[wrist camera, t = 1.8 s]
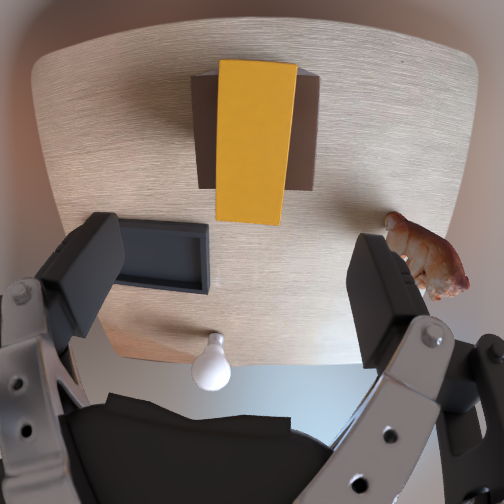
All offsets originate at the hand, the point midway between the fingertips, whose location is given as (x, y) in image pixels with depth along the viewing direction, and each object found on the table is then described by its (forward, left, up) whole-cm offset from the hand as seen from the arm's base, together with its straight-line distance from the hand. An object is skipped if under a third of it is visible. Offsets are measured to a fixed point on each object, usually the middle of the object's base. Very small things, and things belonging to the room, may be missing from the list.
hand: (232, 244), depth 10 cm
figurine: (+22, +7, -26) cm, 35 cm away
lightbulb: (+26, -28, -26) cm, 46 cm away
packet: (0, 0, -14) cm, 14 cm away
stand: (0, 0, -26) cm, 26 cm away
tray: (+7, -24, -26) cm, 36 cm away
